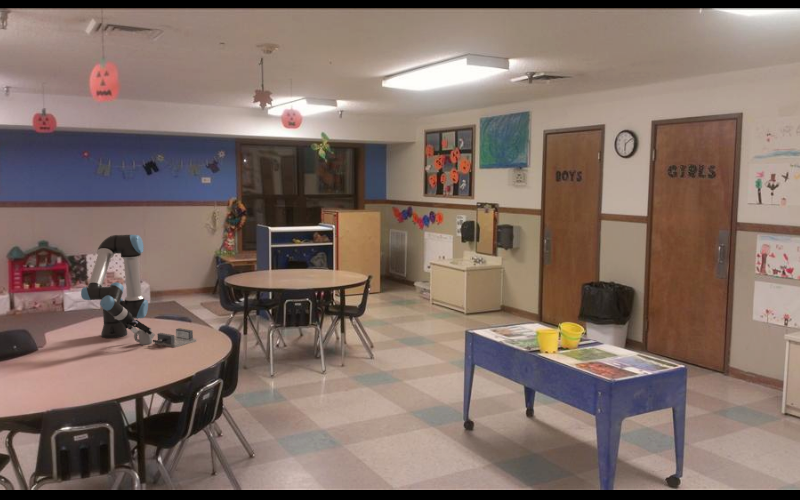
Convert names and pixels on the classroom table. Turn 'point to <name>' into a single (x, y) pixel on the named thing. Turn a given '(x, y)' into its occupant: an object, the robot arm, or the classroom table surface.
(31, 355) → the classroom table surface
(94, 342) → the classroom table surface
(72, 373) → the classroom table surface
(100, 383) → the classroom table surface
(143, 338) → the cup
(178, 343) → the vise
